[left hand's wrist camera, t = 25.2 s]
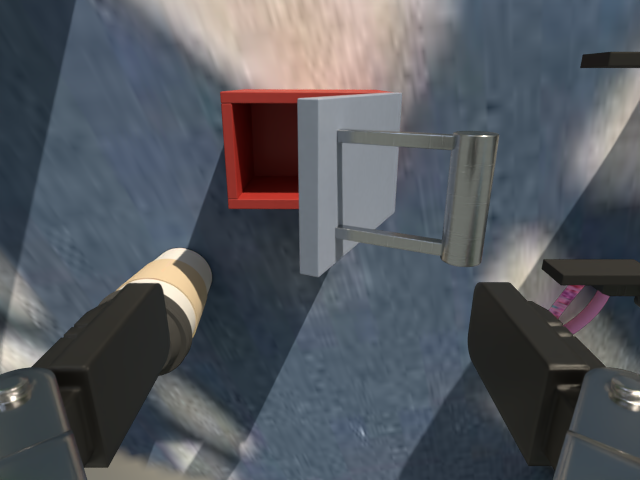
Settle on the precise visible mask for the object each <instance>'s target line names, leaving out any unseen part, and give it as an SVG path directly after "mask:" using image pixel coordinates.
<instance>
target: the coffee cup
mask: <svg viewBox="0 0 640 480" xmlns="http://www.w3.org/2000/svg"><path fill="white" fill-rule="evenodd" d="M128 283H159V284H161V286H162V288H163V292H164V298H165V305H166V313H167V320H168V327H169V334H170V349H169V355H168V358H167V361H166V363H165V365H164V366H163V368H162V370H161V372H160V374H159V376H160V375H164V374H166V373H169V372H171V371H172V370H174V369H175V368H177V367H178V366H179V365H180V364H181V363H182V361H183V360H184V358H185V356H186V355H187V354H188V352H189V350H190V347H191V344H192V338H193V336H194V334H195V332H196V329H197V326H198V324H199V321H200V318H201V315H202V312H203V309H204V307H205V304H206V300H207V294H208V291H209V289H210V286H211V283H212V273H211V269H210V267H209V265H208V263H207V262H206V261H205V259H204V258H203V257H202V256H200V255H199V254H197V253H196V252H194V251H191V250H189V249H184V248H175V249H171V250H168V251H166V252H164V253H163V254H162V255H160V256H159V257H158V258H157V259H156V260H154V261H153V262H151V263H149V264H148V265H146V266H145V267H144V268H143V269H141V270H140V271H139V272H138V273H136V274H135V275H134V276H133V277H131V278H130V279H129V280H128V281H127V282H125V283H124V284H123V285H122V286H120V287H119V288H118V289H117V290H116V291H115V292H113V293H111V294H110V295H108V296H107V297H106V298H104V299H103V300H102V301H101V303H100V304H99V305H101V304H103V303H105V302H110V301H111V300H112V299H113V298H114V297H115V296H116V295H117V294H118V293H119V291H120V290H121V289H122V288H123V287H124V286H125V285H126V284H128ZM99 305H98V306H99Z"/></svg>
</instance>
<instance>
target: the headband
mask: <svg viewBox="0 0 640 480" xmlns="http://www.w3.org/2000/svg"><path fill="white" fill-rule="evenodd" d="M584 286H585V285H568V286H567V288H566V289H565V290H564V291H563V292H562V294H561V295H560V296H559V298H558V299H557V300H556V301H555V303H554V304H553V305H552V307H551V308H550V309H549V311H550V312H551V313H552V314H553V315H554V316H555V317H556V318H557V319H558V318H559V317H560V315H561V314H562V313H563V311H564V310H565V309H566V308H567V306H568V305H569V304H570V303H571V301H572V300H573V299H574V298H575V296H576V295H577V294H578V293H579V292H580V291H581V289H582V288H583V287H584ZM608 298H609V296H607V295H605V294H602V293H601V292H599V291H598V290H597V292H596V294H595V296H594V297H593V299H592V300H591V301H590V303H589V304H588V305H587V306H586V307H585V308H584V309H583V310H582V311H581V312H580V313H579V314H578V315H577V316H576V317H575V318H573V319H572V320H571V321H569V322H568V323H566V324H565V325H563V326H565V327H566V328H567V329H568V330H569V331H570V332H571V333H572V334H574V333H576V332H578V331H579V330H580V329H582V328H583V327H584V326H586V325H587V324H588V323H589V322H590V321H591V320H592V319H593V318H594V317H595V316H596V315H597V314H598V313H599V312H600V311H601V309H602V308H603V306H604V305H605V303H606V302H607V300H608Z"/></svg>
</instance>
